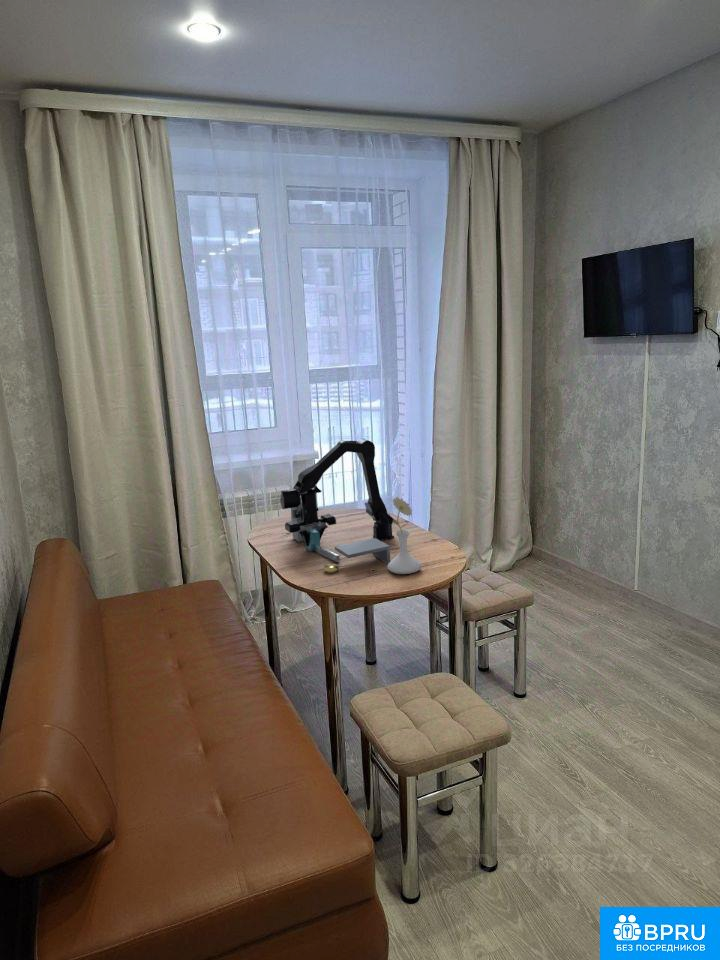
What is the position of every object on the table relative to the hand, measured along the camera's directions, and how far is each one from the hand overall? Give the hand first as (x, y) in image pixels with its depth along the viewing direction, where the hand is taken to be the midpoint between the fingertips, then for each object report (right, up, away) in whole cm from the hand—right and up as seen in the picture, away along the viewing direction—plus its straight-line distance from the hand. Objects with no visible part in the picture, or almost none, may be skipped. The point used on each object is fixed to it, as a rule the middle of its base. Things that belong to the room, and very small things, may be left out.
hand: (312, 545), depth 249 cm
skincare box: (-4, +1, +15) cm, 16 cm away
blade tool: (+5, -3, -7) cm, 9 cm away
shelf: (+19, -5, -17) cm, 26 cm away
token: (+8, -7, -23) cm, 26 cm away
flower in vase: (+33, -6, -26) cm, 42 cm away
